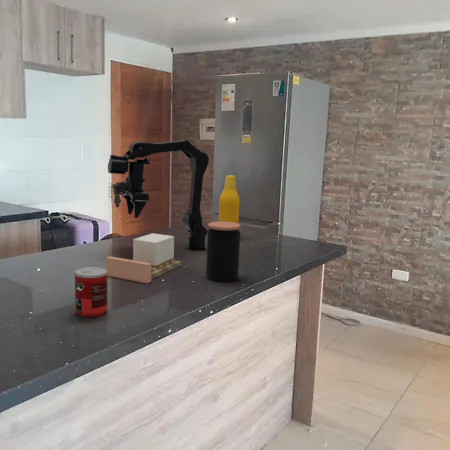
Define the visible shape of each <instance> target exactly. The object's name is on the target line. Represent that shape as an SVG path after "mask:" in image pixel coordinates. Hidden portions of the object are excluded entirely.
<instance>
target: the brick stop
mask: <svg viewBox="0 0 450 450" xmlns="http://www.w3.org/2000/svg"><path fill="white" fill-rule="evenodd" d="M105 270H107V277H111V278H118V279H123V280H128V281H133V282H139V283H143V284H149V283H152V279H151V263H146V262H140V261H134V260H133V259H126V258H121V257H115V256H107V257H105Z"/></svg>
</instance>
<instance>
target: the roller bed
mask: <svg viewBox="0 0 450 450" xmlns="http://www.w3.org/2000/svg"><path fill="white" fill-rule="evenodd" d="M181 264H182V263H181V260H176V259H174V258H173V259H171V260H168V261H166V262H164V263H162V264H159V265H157V266H152V265H151V280H153V279H155V278H157V277H160V276H161V275H163V274H166V273H168V272H170V271H172V270H174V269H176V268H178V267H181Z"/></svg>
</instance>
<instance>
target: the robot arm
mask: <svg viewBox="0 0 450 450" xmlns="http://www.w3.org/2000/svg"><path fill="white" fill-rule="evenodd" d="M180 151H181V152H182V153H183V154H184V156H186V157H187V158H188V159H189V168H190V171H191V183H190V188H189V189H190V191H189V199H188V200H189V202H188V209H187V211H183V213H182V216H183V217H182V220H181V221H182V222H183V227H185V229H186V230H187V232H188V236H187V239H186V247H187V248H188V249H189V250H190V251H202V250H204V251H205V250H206V251H207V247H206V236H207V235H208V229H206V227H204V225H203V217H202V213H201V203H202V202H201V200H202V192H203V183H204V181H203V180H204V174H205V173H206V171H207V168H208V165H209V161H210V158H209V155H208V154H207V153H205V152H203V151H201V150H200V149H199V148H197V147H196V146H194V144H192V143H191V142H190V141H189V140H185V139H181V140H177V141H176V140H175V141H164V142H154V143H153V142H142V141H141V142H140V141H134V142H131V143H130V145H129V147H128V150H127V151H126V152H125V153H124V154H123V155H122V156H120V155H113V154H110V157H109V159H108V162H107V172H108V174H112V175H125V174H126V173H127V177H125V180H124V181H120V182H117V183H114V184H111V187H112V191H113V194H116V195H119V194H121V197H123V199H124V200H125V202H126V207H127V214H128V215H132V214H134V219H138V218H139V216H140V215H141V213H142V211H143V209H144V208H145V207H146V204H147V203H148V202H149V201H150V195H149V193H148V192H145V190H144V186H143V185H144V182H146V179H145V178H144V173H145V165H151V162H150V161H149V160H148V158H147V157H149V156H151V155H154V154H160V153H170V152H180ZM139 158H140V159H139ZM130 160H132V161H130Z"/></svg>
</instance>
